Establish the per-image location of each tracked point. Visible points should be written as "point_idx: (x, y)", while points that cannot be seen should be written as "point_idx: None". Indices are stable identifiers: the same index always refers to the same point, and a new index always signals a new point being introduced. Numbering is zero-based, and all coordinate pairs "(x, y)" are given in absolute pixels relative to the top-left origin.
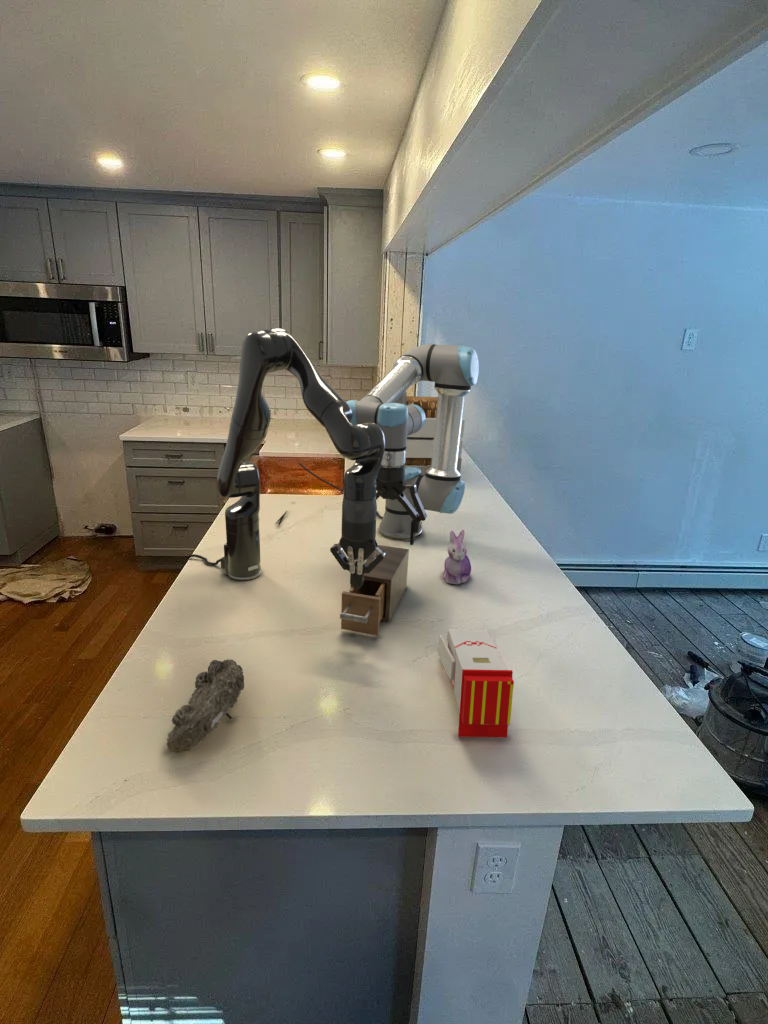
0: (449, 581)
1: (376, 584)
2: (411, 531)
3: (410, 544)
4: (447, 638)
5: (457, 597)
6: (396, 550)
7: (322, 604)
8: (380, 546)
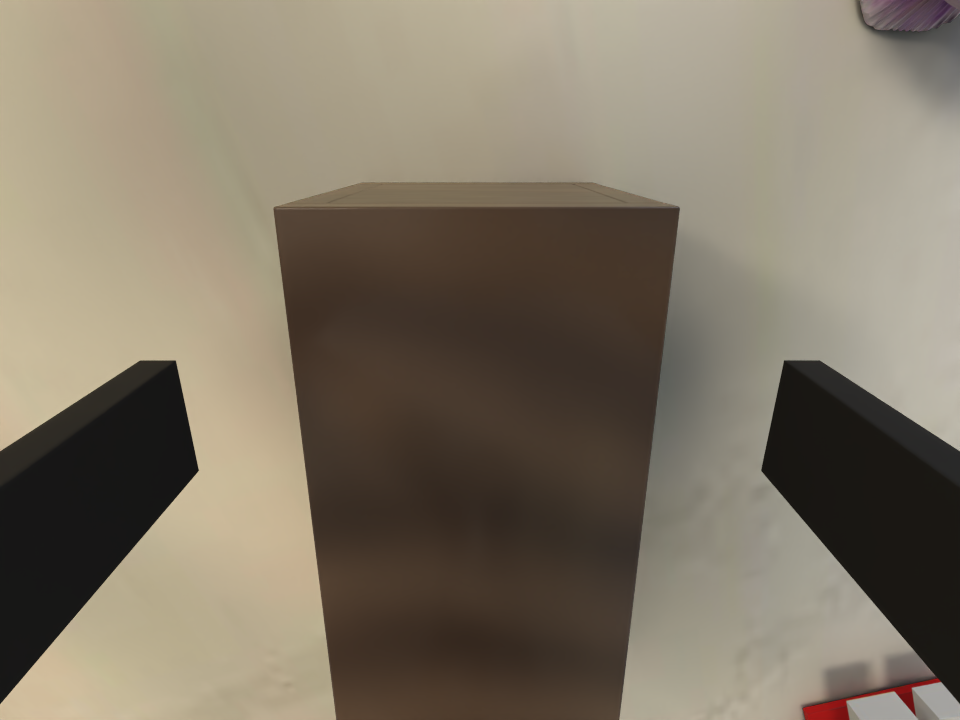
0: (890, 22)
1: None
2: (885, 597)
3: (771, 474)
4: (850, 706)
5: (912, 210)
6: (557, 286)
7: (230, 506)
8: (373, 245)
